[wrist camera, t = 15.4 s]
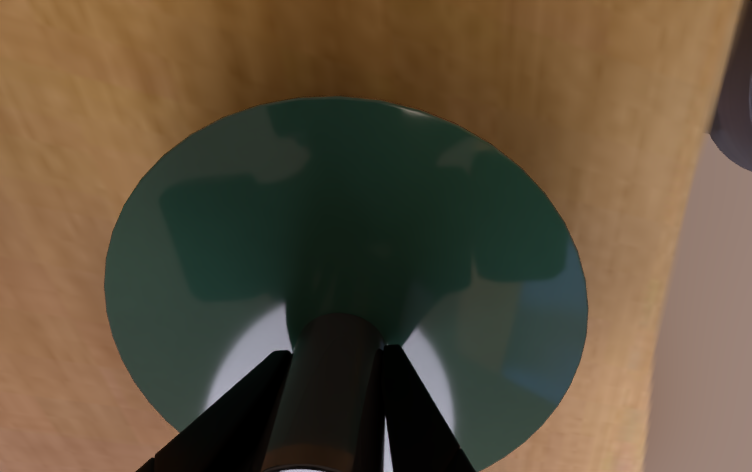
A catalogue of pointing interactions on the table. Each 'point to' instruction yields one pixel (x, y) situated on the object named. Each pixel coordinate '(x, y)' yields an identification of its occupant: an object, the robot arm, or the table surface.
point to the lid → (347, 279)
